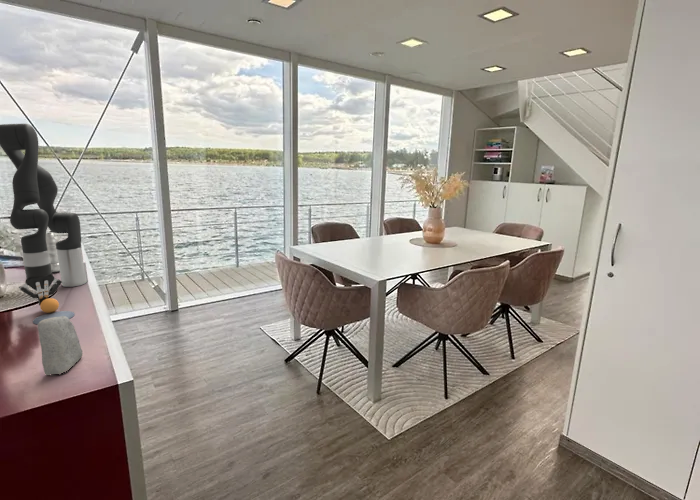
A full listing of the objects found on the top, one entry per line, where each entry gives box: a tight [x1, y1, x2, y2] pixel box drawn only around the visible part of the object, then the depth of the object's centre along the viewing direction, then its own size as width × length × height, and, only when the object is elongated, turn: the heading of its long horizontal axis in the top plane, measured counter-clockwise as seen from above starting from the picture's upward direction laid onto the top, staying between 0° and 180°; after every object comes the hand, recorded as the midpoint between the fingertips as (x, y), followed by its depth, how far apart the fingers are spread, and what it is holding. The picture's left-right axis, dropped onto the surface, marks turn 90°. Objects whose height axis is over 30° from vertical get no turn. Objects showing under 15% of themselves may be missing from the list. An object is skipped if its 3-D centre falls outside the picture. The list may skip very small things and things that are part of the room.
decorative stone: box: [37, 316, 83, 376], centre depth 103 cm, size 11×6×15 cm, turn 5°
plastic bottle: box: [46, 232, 60, 273], centre depth 188 cm, size 6×7×20 cm
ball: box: [39, 297, 60, 314], centre depth 140 cm, size 6×6×6 cm
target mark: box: [32, 310, 76, 325], centre depth 136 cm, size 12×12×1 cm
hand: (44, 306), depth 142 cm, fingers closed
